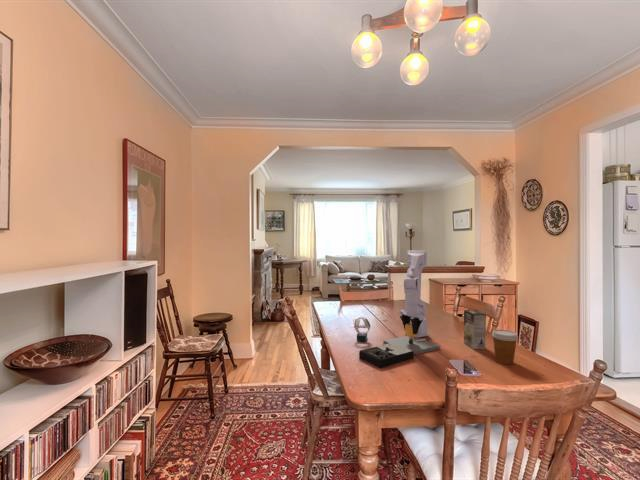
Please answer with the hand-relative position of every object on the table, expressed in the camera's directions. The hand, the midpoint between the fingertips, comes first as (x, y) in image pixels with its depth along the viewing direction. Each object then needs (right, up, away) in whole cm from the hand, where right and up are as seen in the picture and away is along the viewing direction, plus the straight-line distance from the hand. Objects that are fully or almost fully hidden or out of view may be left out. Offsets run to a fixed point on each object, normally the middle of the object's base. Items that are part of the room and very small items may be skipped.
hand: (411, 332), depth 157 cm
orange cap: (0, -1, 0) cm, 1 cm away
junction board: (0, -7, 0) cm, 6 cm away
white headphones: (-21, -7, +32) cm, 39 cm away
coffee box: (+30, -7, +1) cm, 31 cm away
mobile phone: (+14, -8, -25) cm, 30 cm away
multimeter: (-15, -7, -15) cm, 22 cm away
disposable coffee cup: (+33, -7, -19) cm, 39 cm away
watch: (-22, -7, +9) cm, 24 cm away
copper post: (0, -5, 0) cm, 5 cm away
